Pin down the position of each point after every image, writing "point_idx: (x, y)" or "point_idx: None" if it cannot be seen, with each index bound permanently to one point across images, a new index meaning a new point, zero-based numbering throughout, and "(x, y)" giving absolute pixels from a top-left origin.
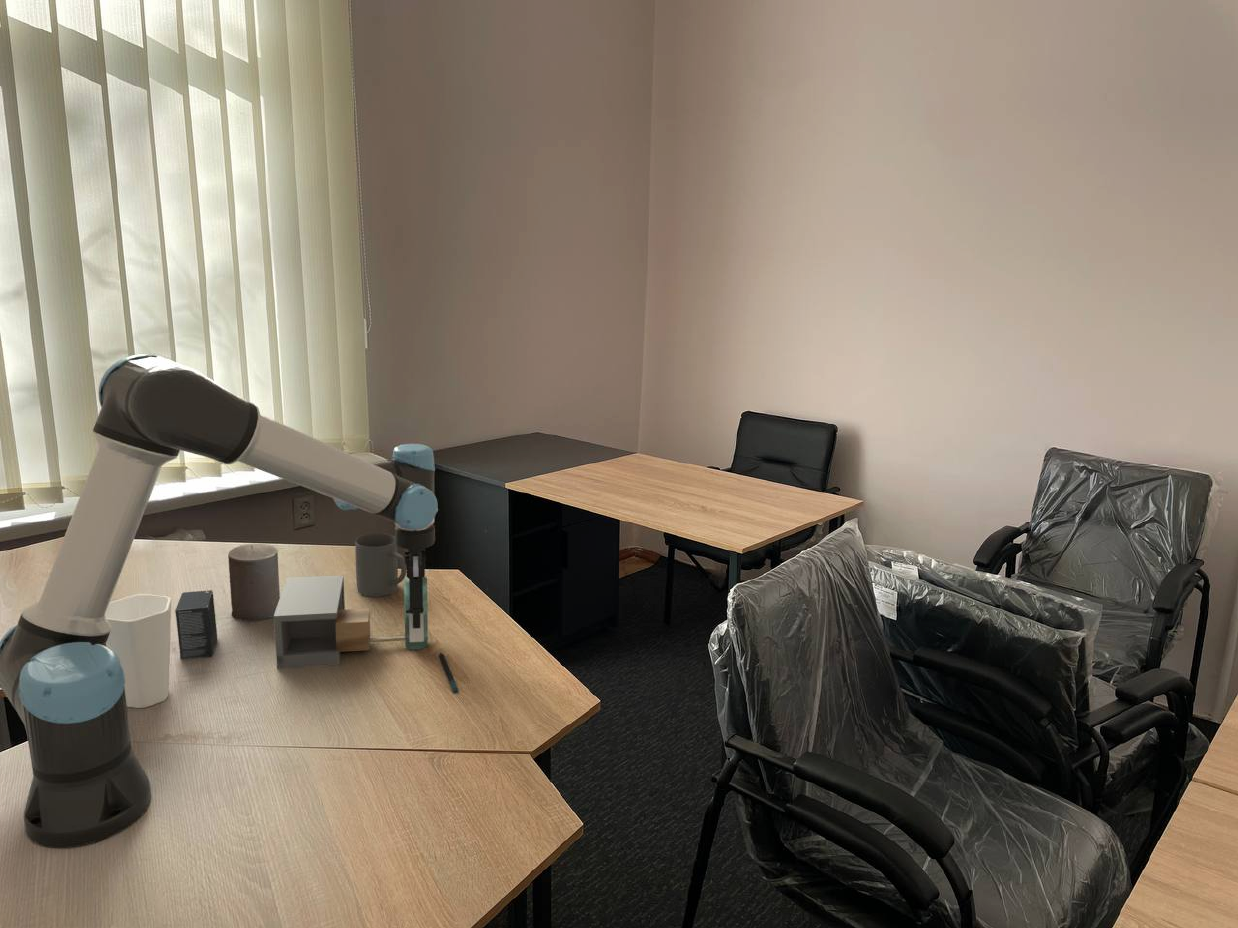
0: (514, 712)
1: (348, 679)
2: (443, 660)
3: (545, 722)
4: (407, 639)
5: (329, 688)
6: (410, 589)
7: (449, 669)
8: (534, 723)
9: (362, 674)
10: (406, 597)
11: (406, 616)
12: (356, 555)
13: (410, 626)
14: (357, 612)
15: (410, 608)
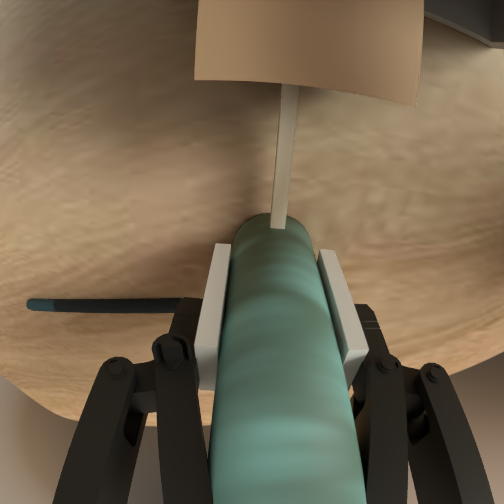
0: (13, 356)
1: (64, 39)
2: (139, 308)
3: (10, 373)
4: (249, 235)
5: (32, 5)
6: (57, 496)
7: (99, 312)
8: (3, 364)
9: (85, 74)
10: (241, 402)
11: (249, 300)
12: None
13: (206, 290)
14: (369, 20)
15: (94, 386)
